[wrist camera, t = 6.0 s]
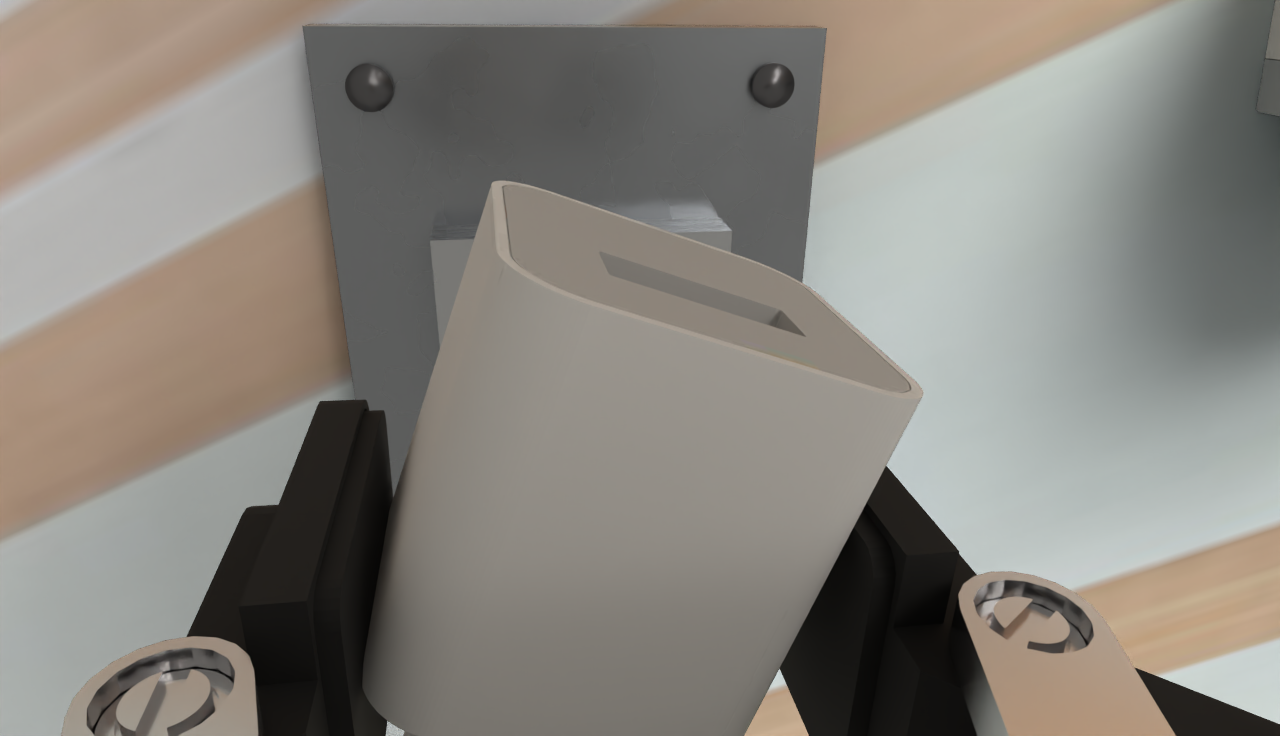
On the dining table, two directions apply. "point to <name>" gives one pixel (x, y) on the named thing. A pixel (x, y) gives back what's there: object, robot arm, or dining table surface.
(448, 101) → the plate
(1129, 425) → the dining table surface
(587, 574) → the usb wall charger
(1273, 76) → the circuit breaker
